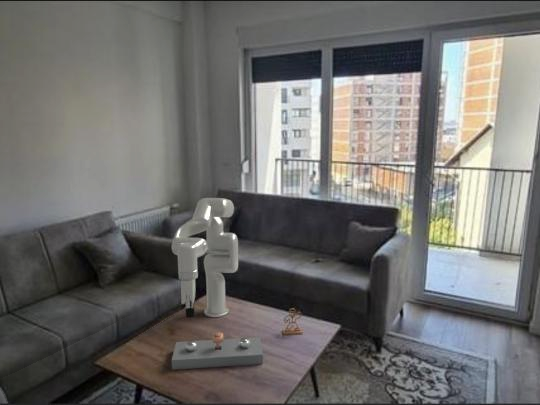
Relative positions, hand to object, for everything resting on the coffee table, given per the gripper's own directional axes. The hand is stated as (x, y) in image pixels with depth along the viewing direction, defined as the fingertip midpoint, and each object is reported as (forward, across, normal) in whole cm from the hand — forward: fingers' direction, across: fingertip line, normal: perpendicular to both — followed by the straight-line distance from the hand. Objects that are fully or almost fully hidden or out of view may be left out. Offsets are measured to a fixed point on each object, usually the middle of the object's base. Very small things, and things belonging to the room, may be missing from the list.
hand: (190, 316), depth 160 cm
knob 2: (+17, +1, +22) cm, 28 cm away
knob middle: (+14, +1, +11) cm, 18 cm away
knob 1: (+17, +1, 0) cm, 17 cm away
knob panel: (+18, +1, +11) cm, 21 cm away
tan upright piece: (+19, -16, +45) cm, 51 cm away
